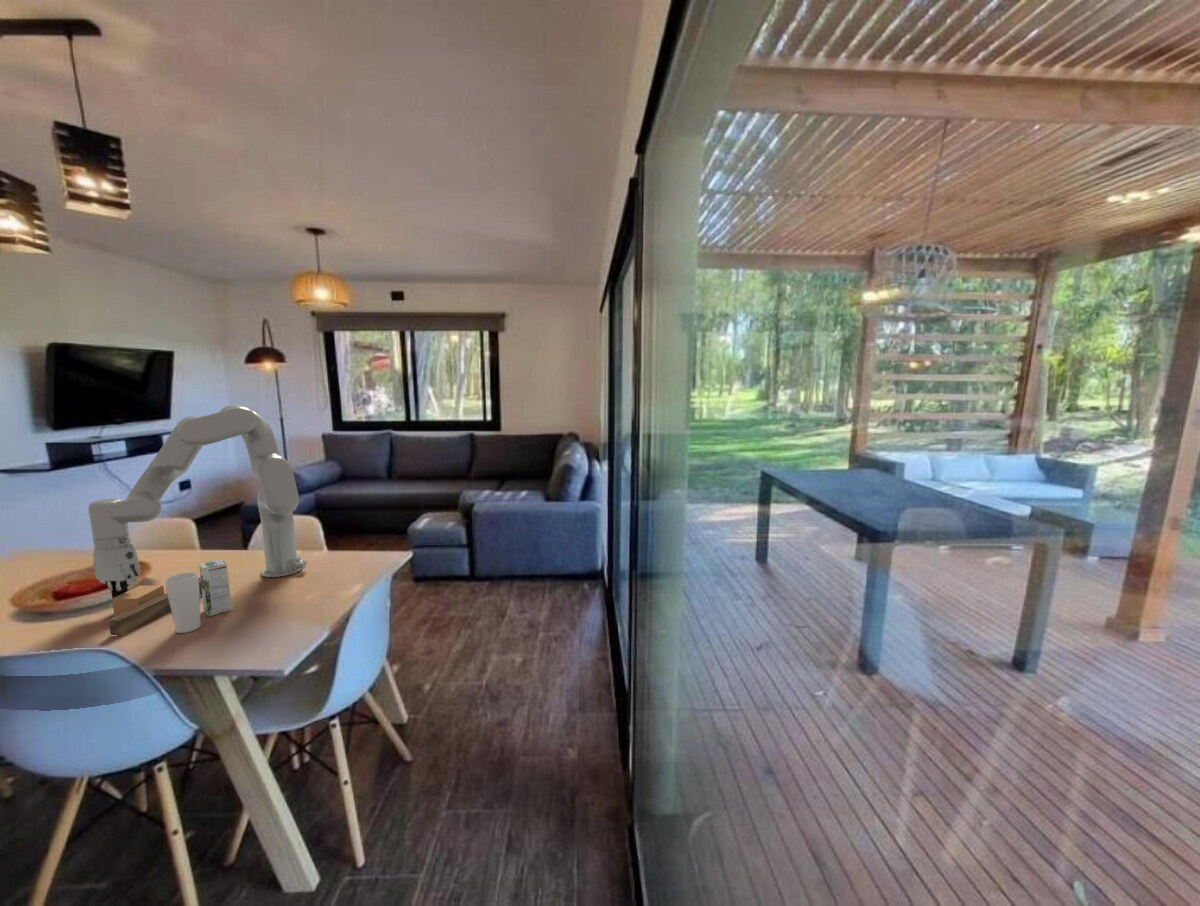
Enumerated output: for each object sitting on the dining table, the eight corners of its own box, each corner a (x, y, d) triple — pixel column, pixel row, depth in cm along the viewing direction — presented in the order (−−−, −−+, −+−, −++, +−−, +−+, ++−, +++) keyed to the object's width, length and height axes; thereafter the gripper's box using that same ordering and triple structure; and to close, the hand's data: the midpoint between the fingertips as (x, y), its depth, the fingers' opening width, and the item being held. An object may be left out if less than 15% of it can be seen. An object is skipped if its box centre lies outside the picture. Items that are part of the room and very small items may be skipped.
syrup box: (203, 611, 149) (197, 564, 147) (227, 604, 153) (222, 558, 151) (208, 617, 145) (202, 568, 143) (233, 610, 150) (227, 563, 147)
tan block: (165, 604, 154) (163, 585, 153) (140, 618, 145) (137, 598, 144) (142, 604, 153) (139, 585, 152) (115, 618, 144) (111, 598, 143)
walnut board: (209, 591, 162) (207, 578, 162) (121, 636, 135) (118, 620, 134) (200, 591, 162) (199, 578, 162) (110, 636, 135) (108, 620, 134)
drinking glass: (169, 637, 134) (161, 584, 132) (176, 626, 140) (169, 574, 138) (201, 631, 137) (194, 579, 135) (206, 621, 143) (200, 570, 141)
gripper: (148, 538, 149) (156, 597, 152) (102, 537, 151) (111, 595, 153) (122, 547, 142) (131, 608, 145) (74, 545, 143) (84, 606, 146)
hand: (121, 601), depth 149 cm, fingers closed
